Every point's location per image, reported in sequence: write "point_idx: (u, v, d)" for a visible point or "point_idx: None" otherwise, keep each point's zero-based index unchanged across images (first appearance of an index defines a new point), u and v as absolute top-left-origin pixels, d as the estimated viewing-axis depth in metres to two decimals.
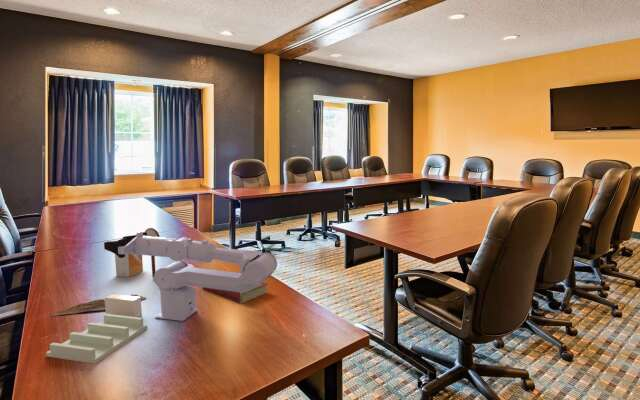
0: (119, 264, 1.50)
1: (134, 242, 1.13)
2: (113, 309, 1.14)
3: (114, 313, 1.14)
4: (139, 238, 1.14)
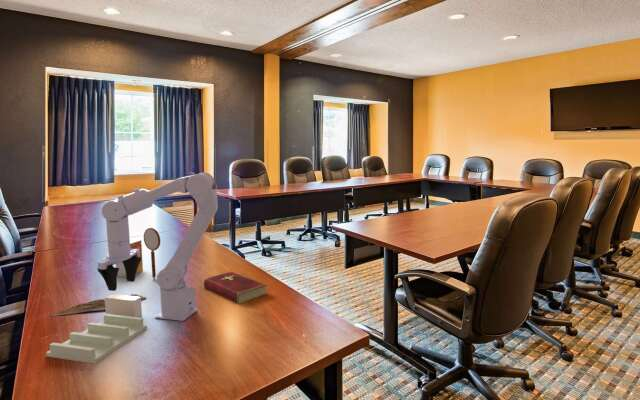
0: (119, 264, 1.50)
1: (109, 257, 1.10)
2: (113, 309, 1.14)
3: (114, 313, 1.14)
4: None
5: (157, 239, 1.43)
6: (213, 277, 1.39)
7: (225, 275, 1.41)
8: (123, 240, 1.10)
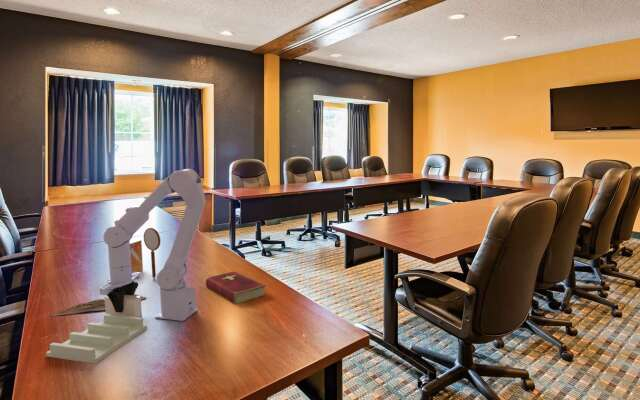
0: None
1: (110, 282, 1.11)
2: (113, 309, 1.14)
3: (114, 313, 1.14)
4: None
5: (157, 239, 1.43)
6: (215, 276, 1.40)
7: (227, 275, 1.42)
8: (125, 265, 1.11)
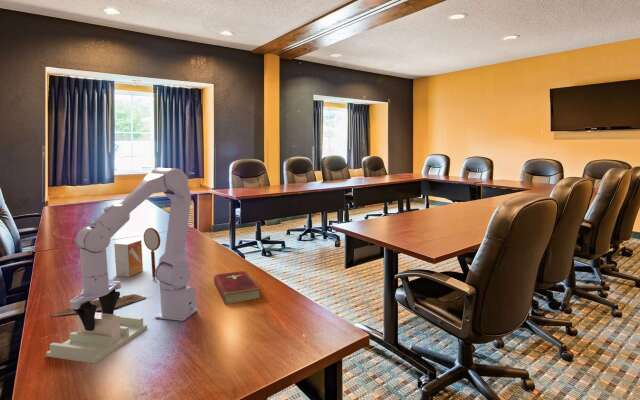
0: (119, 264, 1.50)
1: (83, 294, 0.96)
2: None
3: None
4: None
5: (157, 239, 1.43)
6: (223, 274, 1.42)
7: (235, 274, 1.43)
8: (107, 271, 0.98)
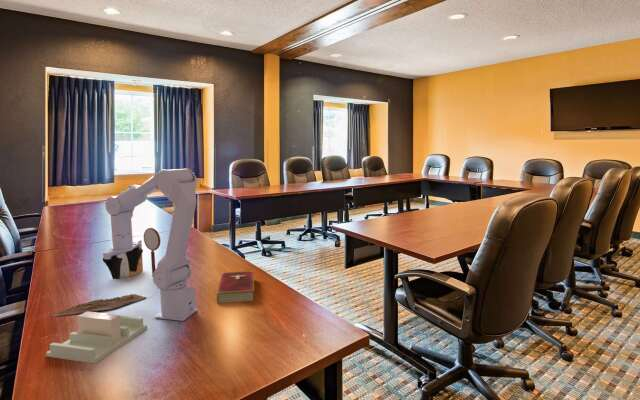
0: None
1: (113, 249, 1.20)
2: (87, 330, 0.99)
3: None
4: None
5: (157, 239, 1.43)
6: (230, 273, 1.44)
7: (241, 273, 1.43)
8: (121, 233, 1.19)
